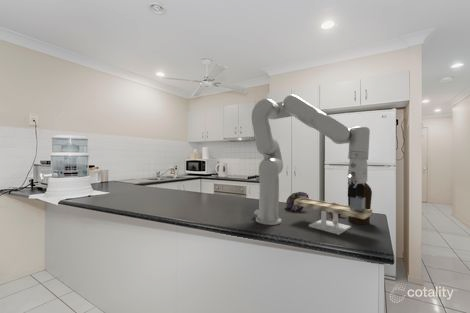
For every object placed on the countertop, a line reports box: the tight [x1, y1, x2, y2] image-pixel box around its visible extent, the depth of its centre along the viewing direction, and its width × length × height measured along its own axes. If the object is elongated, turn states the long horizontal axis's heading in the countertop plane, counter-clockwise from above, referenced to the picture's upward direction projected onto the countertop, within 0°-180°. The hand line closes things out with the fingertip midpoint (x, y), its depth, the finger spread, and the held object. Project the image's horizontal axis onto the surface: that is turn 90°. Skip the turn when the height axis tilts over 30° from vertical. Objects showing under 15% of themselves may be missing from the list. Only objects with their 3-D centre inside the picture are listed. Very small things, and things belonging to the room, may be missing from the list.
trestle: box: [308, 210, 352, 235], centre depth 106 cm, size 14×13×8 cm
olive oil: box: [347, 182, 373, 226], centre depth 116 cm, size 11×11×25 cm
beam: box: [294, 197, 373, 219], centre depth 106 cm, size 32×11×3 cm, turn 44°
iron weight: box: [350, 196, 365, 213], centre depth 98 cm, size 4×4×6 cm
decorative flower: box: [285, 191, 310, 213], centre depth 139 cm, size 15×12×15 cm
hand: (356, 196), depth 98 cm, fingers open, 9 cm apart
